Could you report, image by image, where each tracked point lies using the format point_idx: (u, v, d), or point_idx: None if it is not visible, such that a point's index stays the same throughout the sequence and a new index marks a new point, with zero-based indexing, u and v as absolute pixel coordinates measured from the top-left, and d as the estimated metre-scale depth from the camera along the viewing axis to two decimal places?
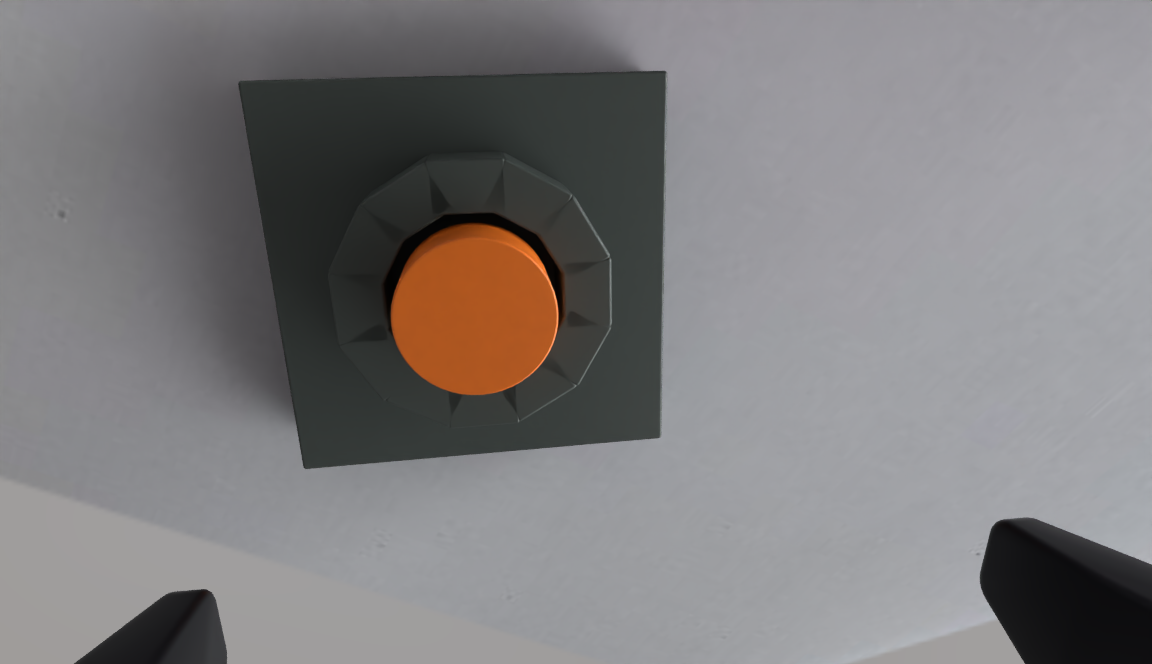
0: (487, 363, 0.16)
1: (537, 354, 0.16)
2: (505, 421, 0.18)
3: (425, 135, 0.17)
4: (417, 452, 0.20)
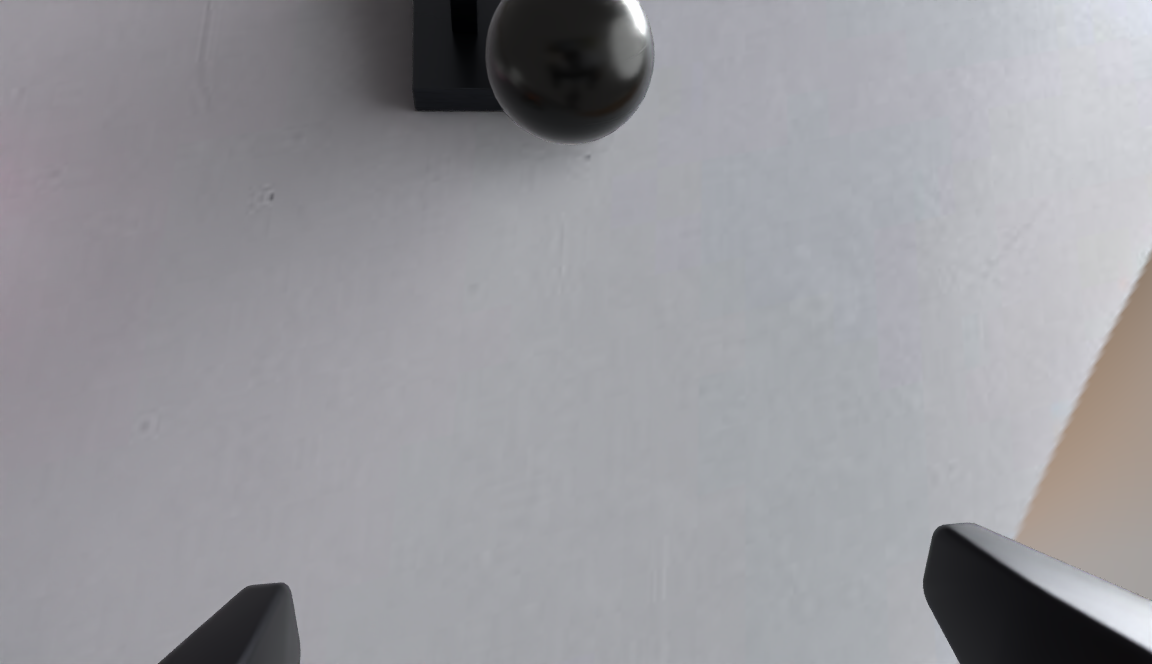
0: None
1: None
2: None
3: None
4: None
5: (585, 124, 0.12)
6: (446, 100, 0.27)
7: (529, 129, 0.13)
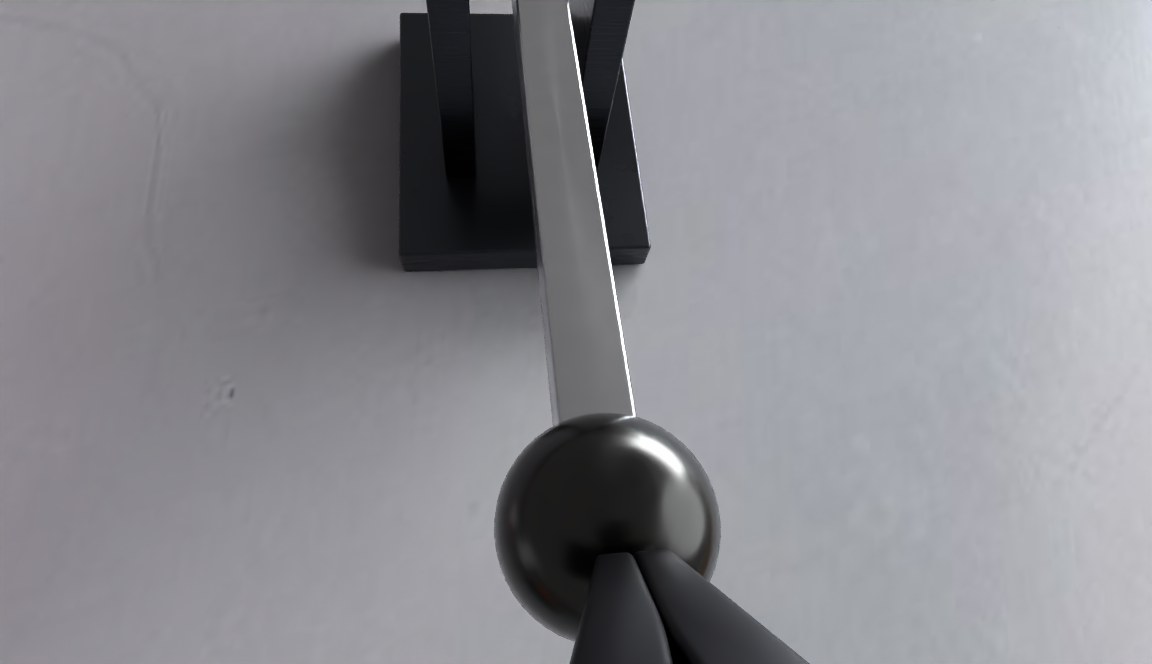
0: None
1: None
2: None
3: None
4: None
5: None
6: (439, 262, 0.23)
7: None
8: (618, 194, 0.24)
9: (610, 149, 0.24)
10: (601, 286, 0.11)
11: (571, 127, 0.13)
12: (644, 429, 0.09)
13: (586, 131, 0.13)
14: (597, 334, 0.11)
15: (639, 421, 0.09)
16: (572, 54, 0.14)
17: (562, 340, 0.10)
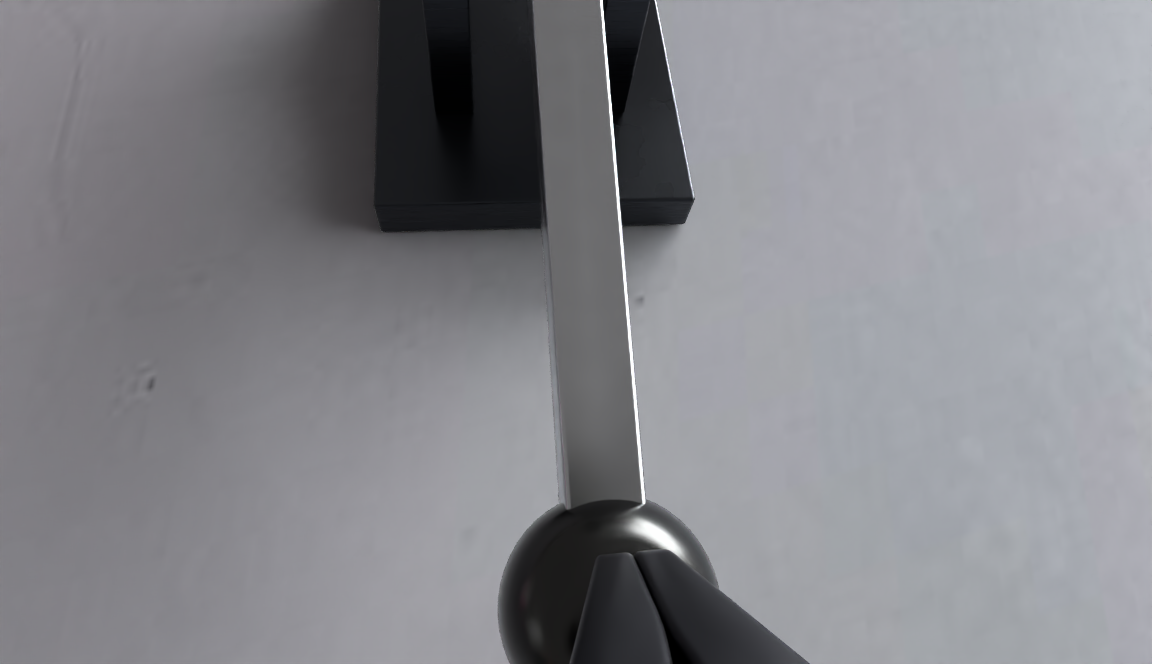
0: None
1: None
2: None
3: None
4: None
5: None
6: (426, 219, 0.18)
7: None
8: (652, 136, 0.19)
9: (640, 83, 0.20)
10: (616, 340, 0.10)
11: (590, 110, 0.11)
12: (654, 544, 0.09)
13: (608, 116, 0.11)
14: (609, 403, 0.10)
15: (649, 527, 0.09)
16: None
17: (570, 410, 0.10)
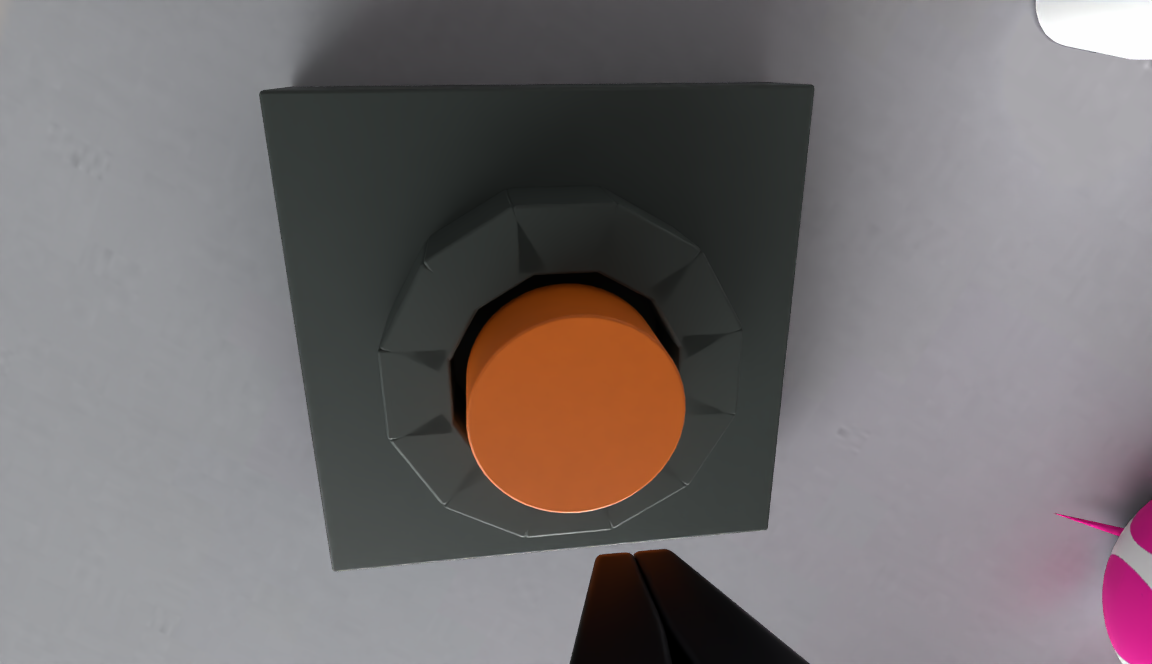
0: (515, 434, 0.11)
1: (526, 494, 0.12)
2: (389, 422, 0.13)
3: (732, 295, 0.15)
4: (297, 266, 0.13)
5: None
6: None
7: None
8: None
9: None
10: None
11: None
12: None
13: None
14: None
15: None
16: None
17: None
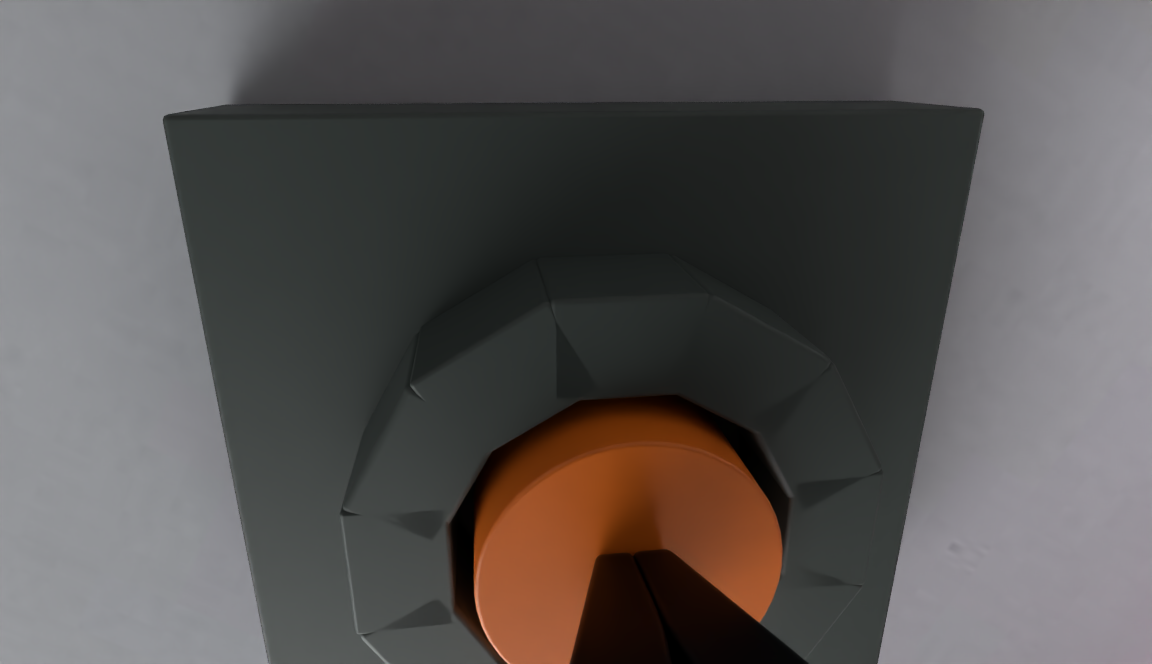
0: (544, 602, 0.08)
1: None
2: (358, 611, 0.08)
3: None
4: (228, 369, 0.09)
5: None
6: None
7: None
8: None
9: None
10: None
11: None
12: None
13: None
14: None
15: None
16: None
17: None
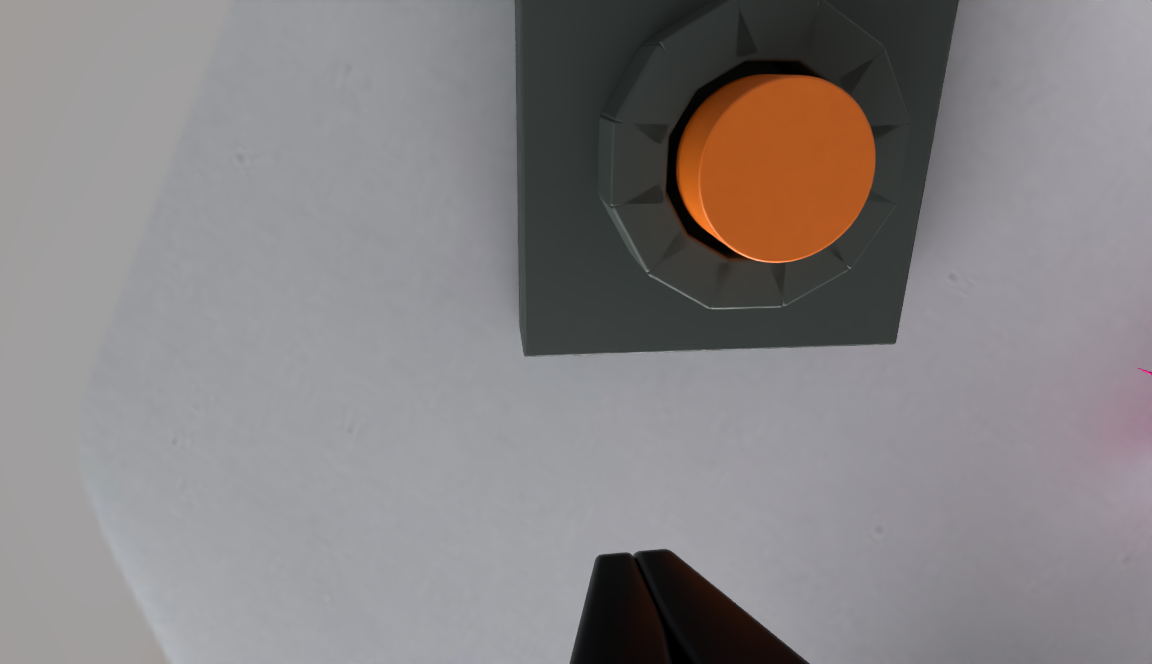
0: (736, 182, 0.14)
1: (738, 240, 0.14)
2: (614, 189, 0.15)
3: None
4: (531, 64, 0.16)
5: None
6: None
7: None
8: None
9: None
10: None
11: None
12: None
13: None
14: None
15: None
16: None
17: None
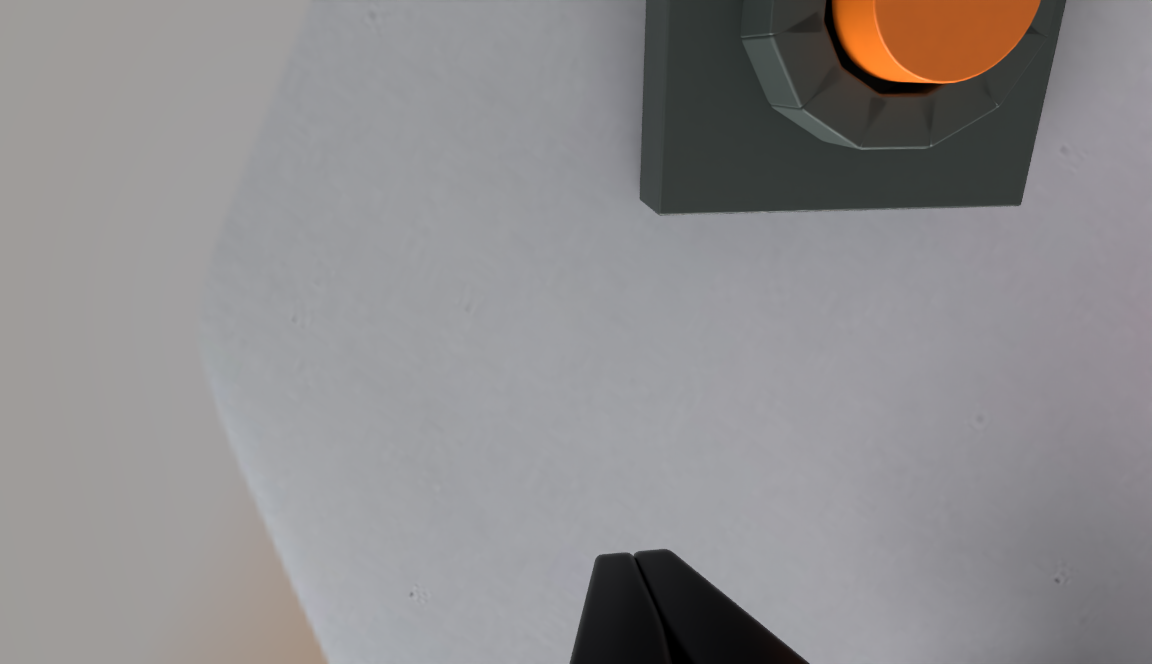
0: None
1: (908, 56, 0.14)
2: (774, 16, 0.15)
3: None
4: None
5: None
6: None
7: None
8: None
9: None
10: None
11: None
12: None
13: None
14: None
15: None
16: None
17: None
